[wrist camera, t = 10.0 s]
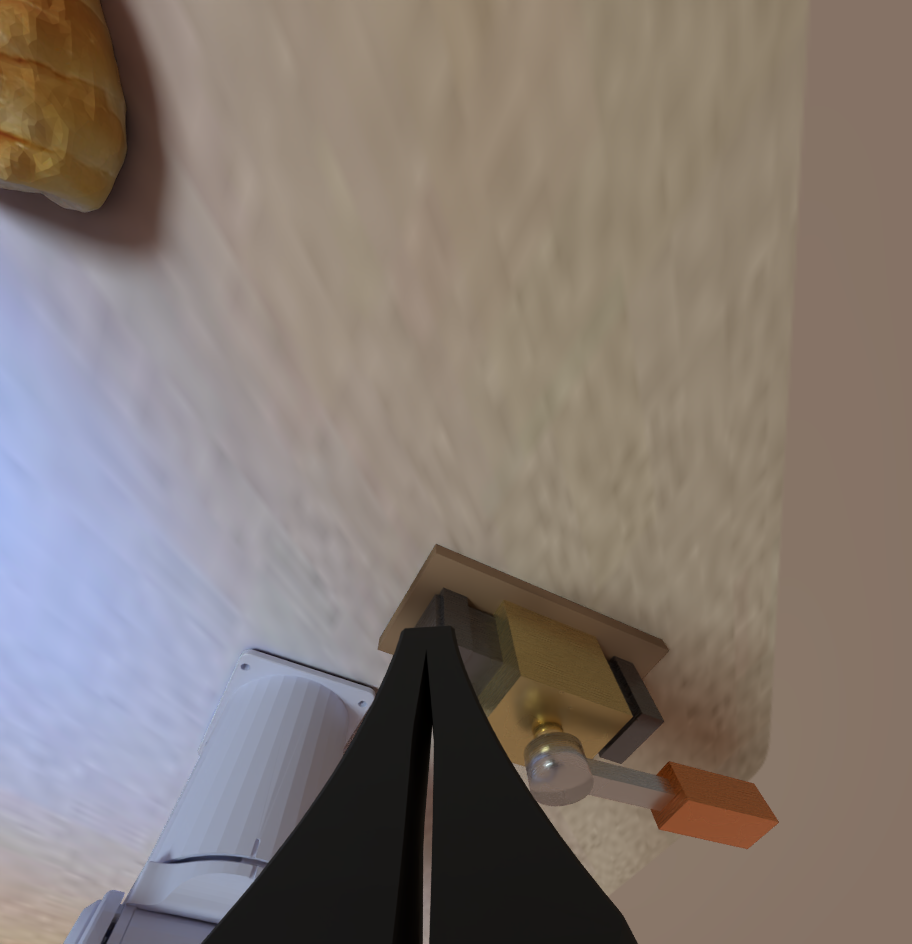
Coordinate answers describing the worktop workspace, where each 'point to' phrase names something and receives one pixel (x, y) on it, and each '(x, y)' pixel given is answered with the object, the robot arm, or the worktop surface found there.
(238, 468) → the worktop surface
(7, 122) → the pastry
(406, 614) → the plank
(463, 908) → the robot arm
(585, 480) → the worktop surface
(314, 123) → the worktop surface
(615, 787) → the lever
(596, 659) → the valve
